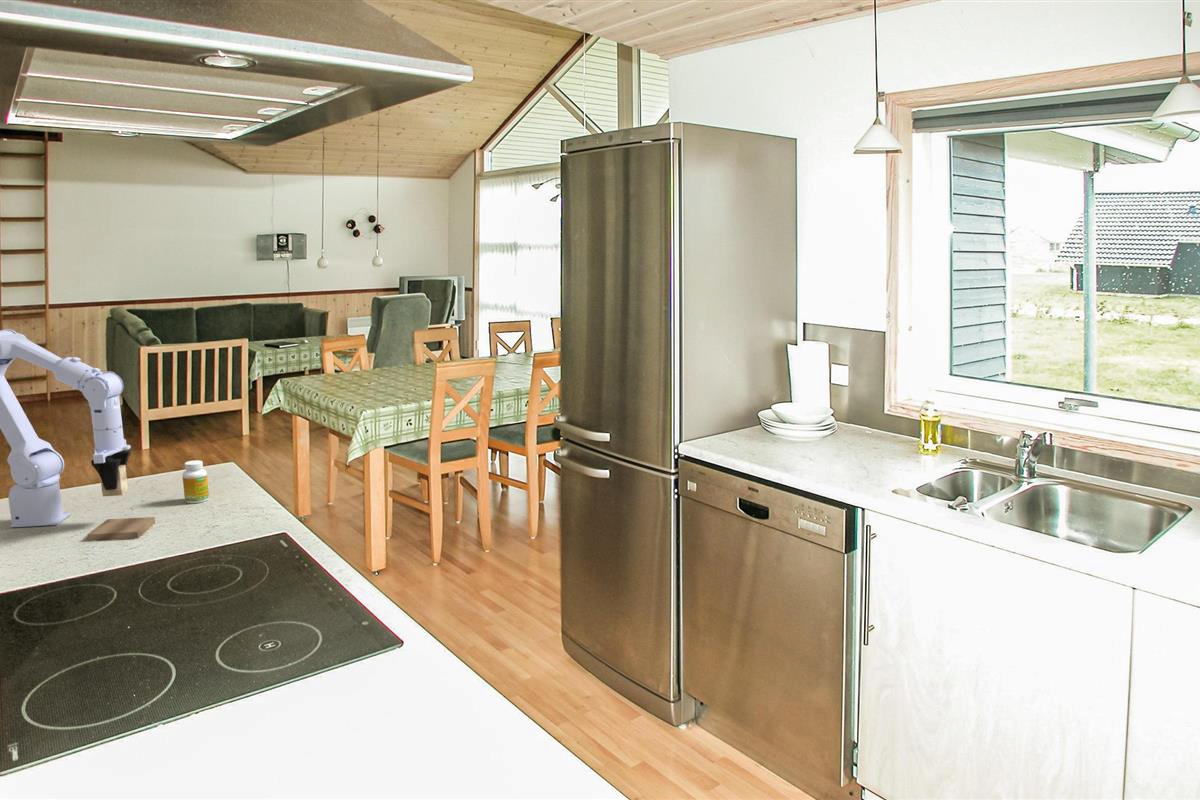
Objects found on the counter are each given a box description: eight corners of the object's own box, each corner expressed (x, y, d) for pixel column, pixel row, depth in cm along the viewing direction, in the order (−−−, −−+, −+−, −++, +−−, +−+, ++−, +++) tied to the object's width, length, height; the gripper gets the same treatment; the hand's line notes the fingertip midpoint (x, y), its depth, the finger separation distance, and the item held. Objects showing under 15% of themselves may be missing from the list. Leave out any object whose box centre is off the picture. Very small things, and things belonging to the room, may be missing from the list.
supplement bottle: (199, 504, 207) (196, 465, 205) (180, 503, 208) (176, 464, 206) (213, 498, 212) (210, 460, 210) (194, 496, 213) (191, 459, 212)
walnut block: (88, 543, 183) (87, 534, 182) (108, 527, 193) (107, 519, 192) (138, 540, 184) (137, 531, 184) (155, 525, 194) (154, 517, 193)
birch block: (102, 496, 191) (99, 470, 190) (109, 491, 195) (106, 465, 194) (122, 495, 192) (119, 469, 190) (128, 490, 195) (125, 464, 194)
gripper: (115, 433, 184) (122, 494, 187) (138, 419, 198) (144, 476, 201) (79, 435, 183) (87, 496, 185) (104, 421, 197) (111, 478, 199)
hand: (114, 486), depth 193 cm, fingers closed on birch block, 4 cm apart
